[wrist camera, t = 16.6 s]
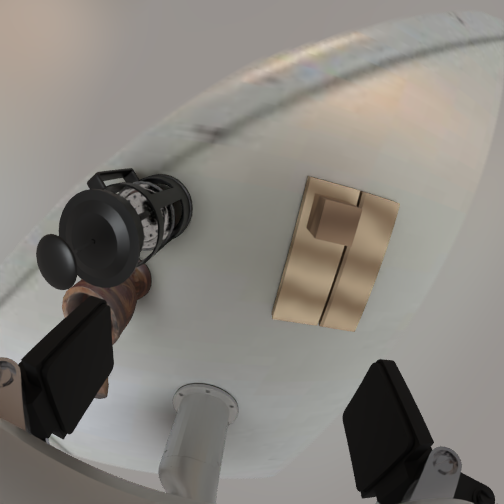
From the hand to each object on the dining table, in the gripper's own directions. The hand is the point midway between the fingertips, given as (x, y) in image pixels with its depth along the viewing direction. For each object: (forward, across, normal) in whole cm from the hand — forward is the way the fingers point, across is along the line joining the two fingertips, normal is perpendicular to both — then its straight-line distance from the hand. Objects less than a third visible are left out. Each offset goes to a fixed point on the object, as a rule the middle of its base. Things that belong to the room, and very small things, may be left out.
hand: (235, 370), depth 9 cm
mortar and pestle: (+31, +16, +15) cm, 38 cm away
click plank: (+30, -8, +4) cm, 31 cm away
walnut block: (+28, -8, -2) cm, 30 cm away
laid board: (+30, -15, +4) cm, 34 cm away
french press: (+31, +14, +2) cm, 34 cm away
